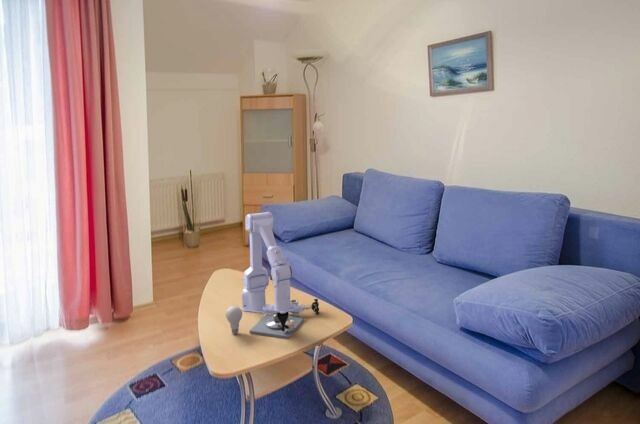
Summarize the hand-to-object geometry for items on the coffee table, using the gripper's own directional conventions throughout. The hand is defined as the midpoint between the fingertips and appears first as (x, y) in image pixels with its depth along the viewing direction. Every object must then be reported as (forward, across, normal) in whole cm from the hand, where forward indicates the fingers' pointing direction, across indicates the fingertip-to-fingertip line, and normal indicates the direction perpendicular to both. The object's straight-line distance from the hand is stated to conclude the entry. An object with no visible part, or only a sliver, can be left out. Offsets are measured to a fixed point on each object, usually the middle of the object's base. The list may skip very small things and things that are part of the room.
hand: (283, 330), depth 170 cm
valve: (+2, +9, +16) cm, 18 cm away
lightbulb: (+2, -18, +3) cm, 19 cm away
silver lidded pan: (+1, -1, +5) cm, 5 cm away
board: (+2, -2, +7) cm, 8 cm away
